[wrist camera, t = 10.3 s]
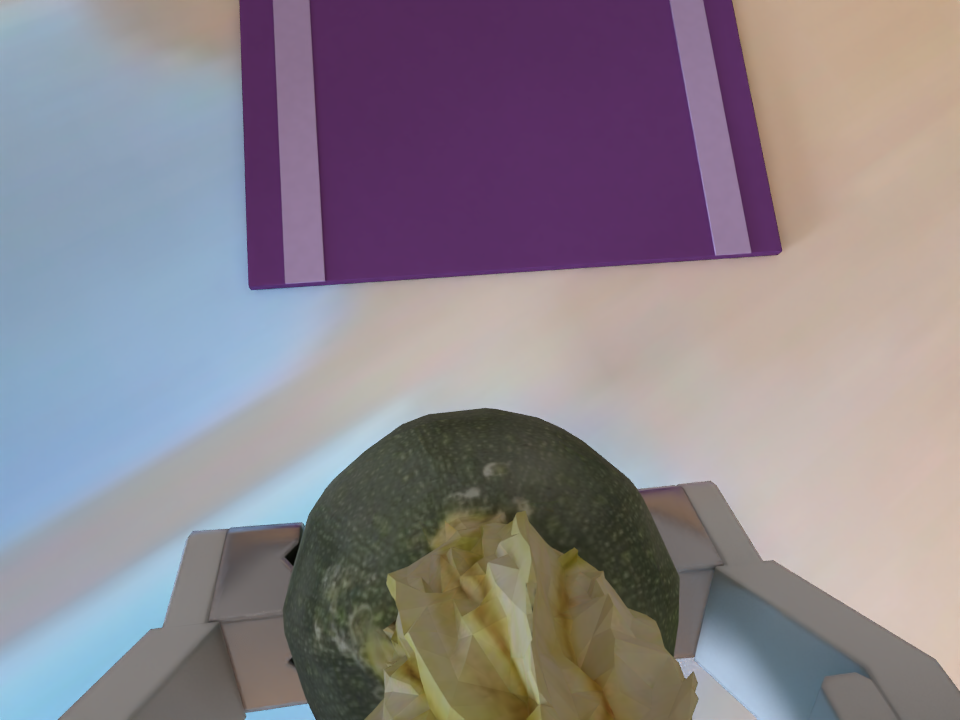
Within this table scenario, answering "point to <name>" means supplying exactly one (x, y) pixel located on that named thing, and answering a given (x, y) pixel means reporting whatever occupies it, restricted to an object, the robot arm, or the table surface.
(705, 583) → the robot arm
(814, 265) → the table surface
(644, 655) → the vegetable
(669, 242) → the towel
